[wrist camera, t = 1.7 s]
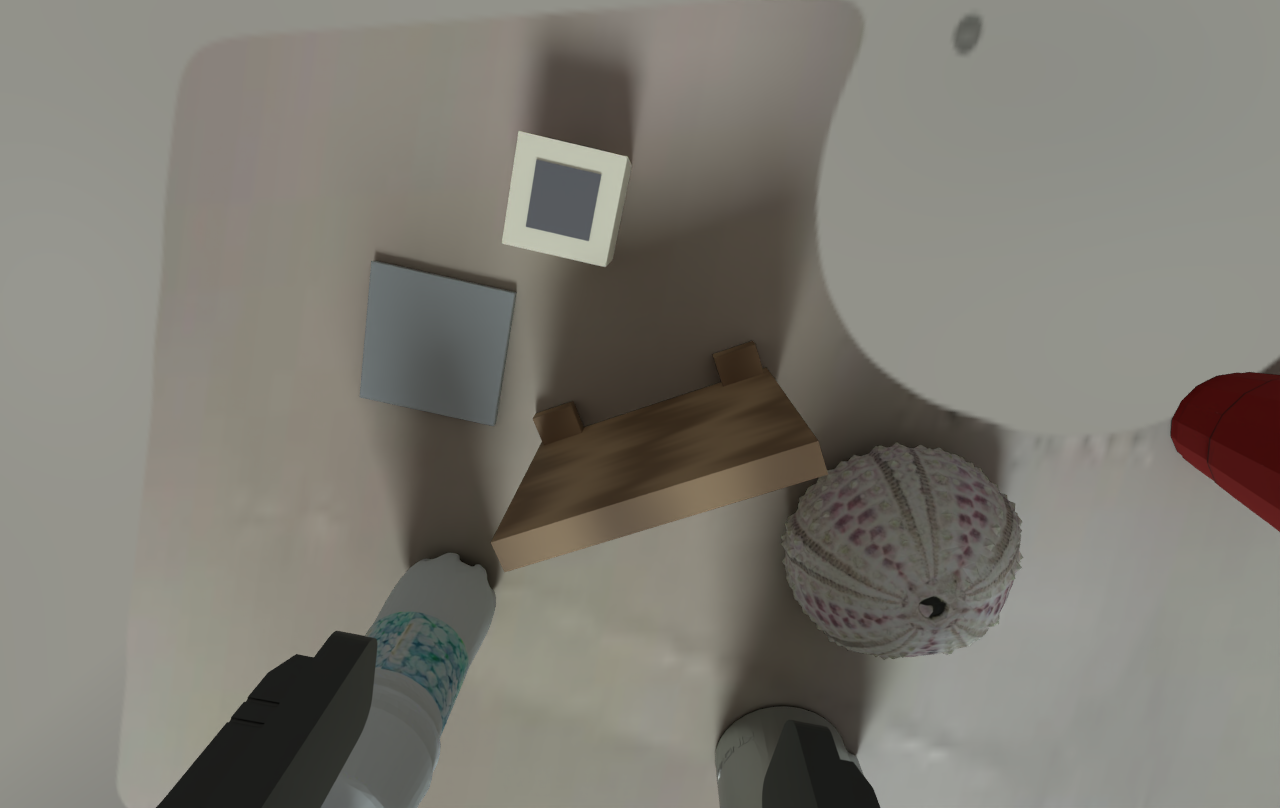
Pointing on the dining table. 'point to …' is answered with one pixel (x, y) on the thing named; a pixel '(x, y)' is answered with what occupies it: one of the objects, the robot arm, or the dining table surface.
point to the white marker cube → (566, 199)
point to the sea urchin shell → (903, 552)
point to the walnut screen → (657, 463)
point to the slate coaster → (435, 343)
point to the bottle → (415, 681)
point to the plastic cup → (1235, 437)
